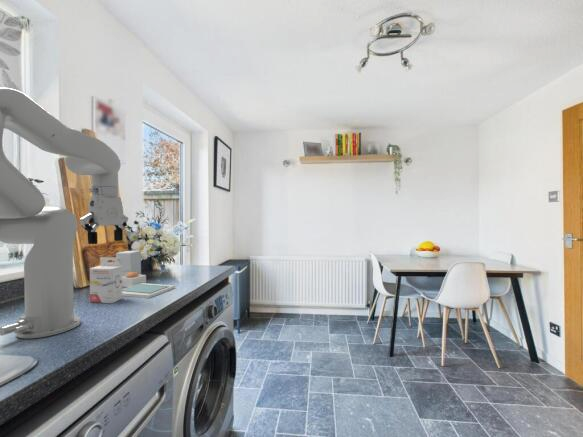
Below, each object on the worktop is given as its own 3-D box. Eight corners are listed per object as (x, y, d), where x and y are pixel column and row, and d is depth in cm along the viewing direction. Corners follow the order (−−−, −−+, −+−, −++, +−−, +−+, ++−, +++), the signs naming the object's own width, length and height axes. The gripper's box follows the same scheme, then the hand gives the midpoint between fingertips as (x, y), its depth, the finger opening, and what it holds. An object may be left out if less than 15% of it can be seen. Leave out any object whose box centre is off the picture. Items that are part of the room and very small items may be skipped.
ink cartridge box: (88, 302, 92) (88, 259, 92) (100, 298, 97) (99, 256, 97) (112, 303, 91) (112, 259, 91) (123, 298, 96) (122, 257, 96)
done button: (132, 280, 113) (132, 274, 113) (124, 279, 114) (124, 273, 114) (140, 277, 117) (140, 272, 117) (132, 277, 118) (132, 271, 118)
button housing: (132, 287, 111) (132, 278, 111) (118, 286, 113) (118, 277, 113) (146, 283, 118) (146, 275, 118) (132, 282, 120) (132, 274, 120)
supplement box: (141, 277, 129) (141, 250, 129) (131, 281, 122) (130, 252, 122) (127, 277, 130) (126, 250, 130) (115, 280, 123) (115, 252, 123)
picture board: (148, 298, 97) (148, 295, 97) (112, 294, 101) (112, 291, 101) (174, 288, 110) (174, 285, 110) (142, 285, 115) (142, 282, 115)
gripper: (89, 190, 84) (90, 245, 85) (134, 194, 101) (135, 240, 102) (71, 191, 86) (72, 245, 87) (118, 194, 103) (119, 239, 104)
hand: (106, 242), depth 94 cm, fingers open, 9 cm apart
